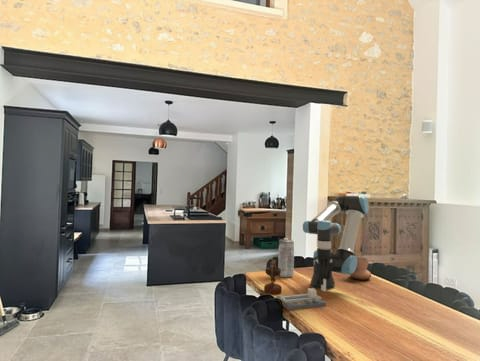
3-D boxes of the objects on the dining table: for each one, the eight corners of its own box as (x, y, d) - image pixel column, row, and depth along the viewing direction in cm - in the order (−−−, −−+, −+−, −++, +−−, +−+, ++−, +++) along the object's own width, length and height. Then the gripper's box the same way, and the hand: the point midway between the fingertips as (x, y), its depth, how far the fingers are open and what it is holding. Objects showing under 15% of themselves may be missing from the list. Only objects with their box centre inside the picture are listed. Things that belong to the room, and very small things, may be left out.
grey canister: (294, 277, 221) (294, 239, 221) (279, 277, 221) (279, 239, 222) (292, 274, 230) (292, 237, 230) (277, 274, 230) (278, 237, 230)
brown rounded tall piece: (283, 295, 183) (281, 261, 183) (264, 297, 183) (262, 262, 184) (280, 287, 198) (278, 255, 199) (263, 288, 198) (261, 256, 199)
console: (310, 296, 183) (310, 290, 183) (326, 306, 167) (326, 299, 168) (276, 299, 176) (276, 293, 176) (289, 310, 161) (289, 303, 161)
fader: (312, 296, 176) (312, 287, 176) (316, 298, 173) (316, 289, 173) (307, 296, 175) (307, 288, 175) (311, 298, 172) (311, 290, 172)
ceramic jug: (364, 275, 231) (364, 255, 231) (377, 280, 217) (376, 259, 217) (342, 276, 227) (342, 257, 227) (354, 282, 212) (353, 261, 213)
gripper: (330, 246, 182) (329, 287, 182) (310, 247, 179) (309, 289, 178) (337, 248, 175) (337, 291, 174) (317, 249, 171) (316, 293, 171)
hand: (323, 290), depth 176 cm, fingers closed
